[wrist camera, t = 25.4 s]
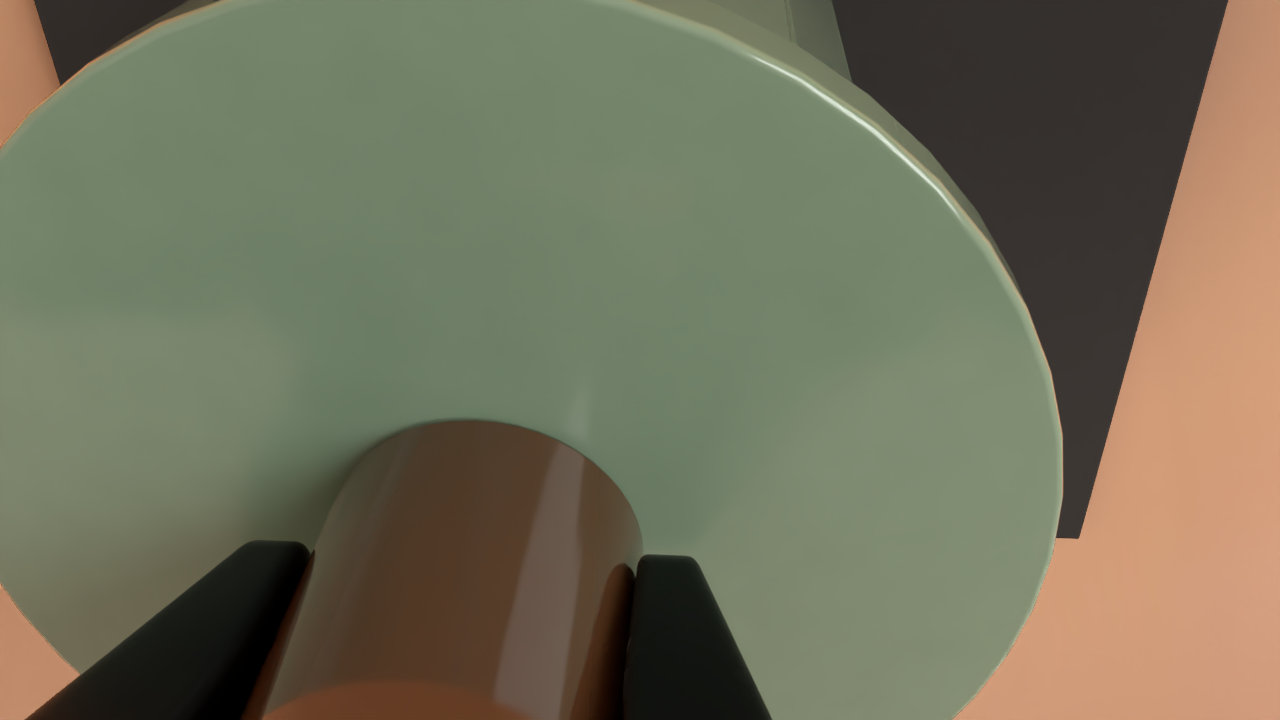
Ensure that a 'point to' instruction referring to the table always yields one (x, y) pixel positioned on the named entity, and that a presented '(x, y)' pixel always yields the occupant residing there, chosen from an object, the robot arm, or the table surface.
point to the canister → (798, 26)
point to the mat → (993, 152)
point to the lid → (514, 358)
